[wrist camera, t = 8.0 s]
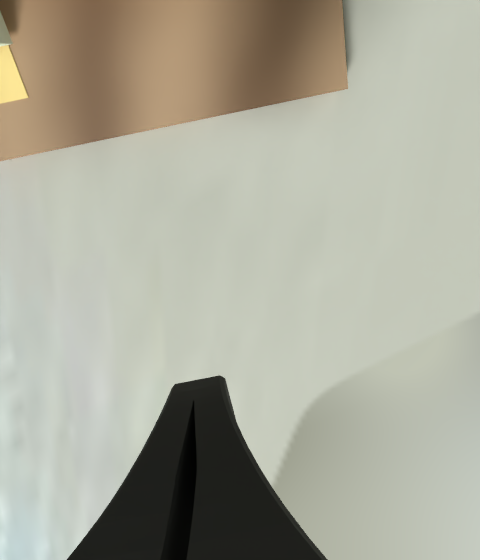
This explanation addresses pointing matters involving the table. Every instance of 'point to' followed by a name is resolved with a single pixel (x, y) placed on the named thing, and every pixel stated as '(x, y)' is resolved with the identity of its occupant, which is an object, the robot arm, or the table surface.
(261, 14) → the track board
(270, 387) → the table surface
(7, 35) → the block
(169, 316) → the table surface
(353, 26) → the table surface
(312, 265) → the table surface
